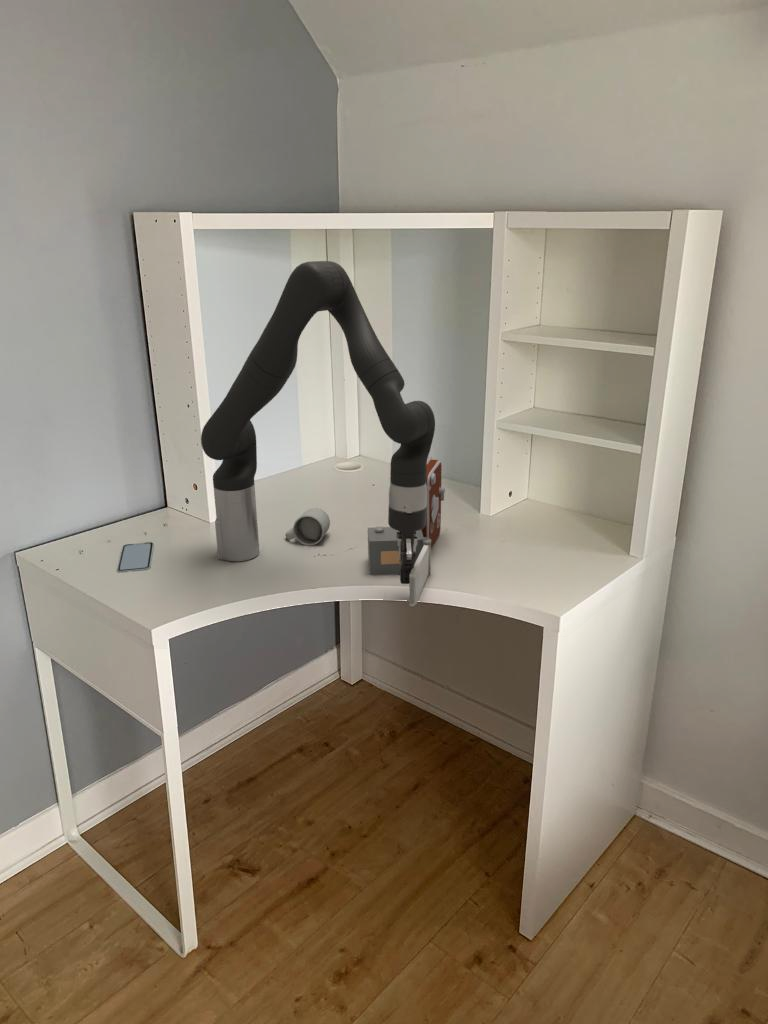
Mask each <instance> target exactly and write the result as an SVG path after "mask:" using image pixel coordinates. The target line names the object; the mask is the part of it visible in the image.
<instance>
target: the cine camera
mask: <svg viewBox="0 0 768 1024" xmlns="http://www.w3.org/2000/svg"><path fill="white" fill-rule="evenodd" d="M442 469H443V468H442V461H441V460H439V459H433V458H432V456H428V458H427V473H426V487H427V511H426V525H425V527H424V528H423V529H421V530H422V533H423V537H429V538H430V539H431V550H432V548H433V547H434V545H435V543H436V541H437V539H438V538H439V536H440V533H441V529H442V528H441V527H442V526H441V524H442V522H441V521H442V516H441V515H442V502H443V501H445V492H446V488H445V487H442Z"/></svg>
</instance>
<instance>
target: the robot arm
mask: <svg viewBox="0 0 768 1024" xmlns="http://www.w3.org/2000/svg"><path fill="white" fill-rule="evenodd" d="M324 311H327V312H329V314H330V315H331V316H332V317H333V318H334V319H335V321H336V322H337V323H338V325H339V327H340V328H341V330H342V332H343V333H344V334H343V335H344V337H345V342H346V345H347V350H348V355H349V359H350V362H351V366H352V367H353V370H354V372H355V373H356V375H357V377H358V378H359V380H360V382H361V383H362V385H363V386H364V388H365V389H366V391H367V393H368V394H369V395H370V397H371V399H372V401H373V402H372V403H373V405H374V409H375V412H376V414H377V417H378V420H379V423H380V424H381V425H380V426H381V428H382V431H384V433H385V434H386V436H387V437H388V438H389V439H390V440H391V441H392V442H395V443H396V444H400V445H399V448H398V449H397V450H396V451H395V452H394V453H393V454H392V456H391V459H390V470H389V471H390V477H389V479H390V481H389V488H388V511H387V512H388V514H387V515H388V519H387V520H388V521H387V522H388V527H391V528H393V529H395V530H397V531H398V532H396V538H397V551H398V556H399V558H400V560H399V563H400V574H399V580H400V584H402V585H410V572H411V570H412V569H413V568H414V563H415V557H416V546H417V537H416V532H415V531H418V530H421V529H423V528H424V527H425V525H426V511H427V487H426V473H427V458H428V457H429V456H430V451H431V448H432V444H433V440H434V436H435V430H436V418H435V414H434V411H433V410H432V408H431V406H430V405H429V404H428V403H427V402H425V401H423V400H422V401H421V400H414V401H410V402H407V403H405V402H404V399H403V398H402V394H401V392H402V391H403V389H404V387H405V380H404V378H403V376H402V375H401V372H400V371H399V368H398V367H397V366H396V365H395V364H394V362H393V360H392V359H391V357H390V356H389V354H388V353H387V351H386V350H385V348H384V346H383V345H382V343H381V341H380V339H379V338H378V336H377V334H376V332H375V331H374V329H373V326H372V324H371V322H370V320H369V318H368V316H367V313H366V312H365V309H364V307H363V305H362V303H361V301H360V298H359V297H358V294H357V292H356V289H355V287H354V285H353V282H352V281H351V279H350V277H349V274H348V273H347V271H346V270H345V269H344V267H342V266H341V264H339V263H337V262H335V261H331V260H317V261H315V260H313V261H305V262H302V263H300V264H299V265H298V266H296V267H295V268H294V269H293V271H291V273H290V275H289V277H288V279H287V281H286V283H285V285H284V288H283V291H282V293H281V295H280V297H279V299H278V302H277V304H276V306H275V309H274V311H273V312H272V313H273V314H272V315H271V317H270V318H269V320H268V322H267V324H266V326H265V327H264V329H263V331H262V333H261V335H260V336H259V337H258V340H257V342H256V343H255V345H254V346H253V348H252V349H251V351H250V352H249V355H248V356H247V358H246V360H245V362H244V363H243V365H242V368H241V370H240V372H239V373H238V374H237V376H236V377H235V380H234V381H233V383H232V385H231V387H230V389H229V390H228V392H227V394H226V396H225V397H224V398H223V400H222V401H221V403H220V405H218V407H217V408H216V409H215V411H214V412H213V414H212V415H211V416H210V417H209V418H208V420H207V421H206V423H205V424H204V426H203V428H202V430H201V436H200V442H201V443H200V444H201V448H202V450H203V452H204V454H205V455H206V456H207V457H209V458H210V459H212V460H215V461H222V462H221V464H220V465H219V467H218V468H217V469H216V470H215V471H214V472H213V475H212V485H213V496H214V504H215V505H214V507H215V517H216V518H215V521H214V527H215V528H214V529H215V538H216V547H217V558H218V560H224V561H228V562H245V561H248V560H252V559H254V558H256V557H258V555H259V554H260V540H259V527H258V525H259V524H258V513H257V498H256V488H255V487H256V486H255V484H256V483H255V476H256V473H257V468H258V463H257V462H258V460H257V458H258V457H257V448H258V447H257V435H256V434H257V433H256V430H255V427H254V424H253V423H252V421H251V419H253V417H254V416H256V414H258V412H260V411H261V410H262V409H263V408H265V407H266V406H267V405H269V403H270V402H271V401H272V400H273V399H274V398H275V397H276V396H277V395H278V394H279V393H280V391H281V390H282V389H284V387H285V384H286V383H287V381H288V380H289V378H290V377H291V375H292V373H293V372H294V369H295V368H296V365H297V361H298V352H299V351H298V349H299V340H300V337H301V335H302V333H303V332H304V329H305V328H306V326H307V325H308V323H309V322H310V321H311V319H312V318H313V317H314V316H315V315H316V314H317V313H318V312H324Z"/></svg>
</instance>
